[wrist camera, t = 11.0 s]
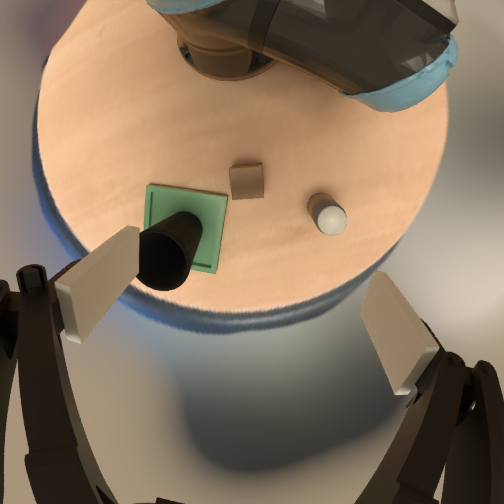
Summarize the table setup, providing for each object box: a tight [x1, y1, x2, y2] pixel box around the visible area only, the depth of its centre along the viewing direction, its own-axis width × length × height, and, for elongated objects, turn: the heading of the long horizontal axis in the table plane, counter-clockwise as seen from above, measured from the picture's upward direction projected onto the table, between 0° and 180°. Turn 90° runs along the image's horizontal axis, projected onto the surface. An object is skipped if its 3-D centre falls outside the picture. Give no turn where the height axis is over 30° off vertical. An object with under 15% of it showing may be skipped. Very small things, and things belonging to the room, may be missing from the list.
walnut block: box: [229, 163, 264, 200], centre depth 37 cm, size 4×4×5 cm
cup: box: [136, 211, 203, 291], centre depth 36 cm, size 8×8×12 cm
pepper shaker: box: [308, 193, 347, 236], centre depth 37 cm, size 4×4×8 cm
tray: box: [144, 184, 228, 274], centre depth 42 cm, size 12×12×2 cm
